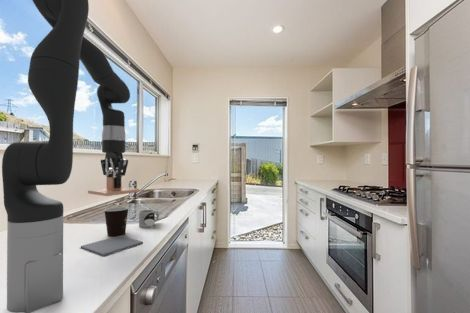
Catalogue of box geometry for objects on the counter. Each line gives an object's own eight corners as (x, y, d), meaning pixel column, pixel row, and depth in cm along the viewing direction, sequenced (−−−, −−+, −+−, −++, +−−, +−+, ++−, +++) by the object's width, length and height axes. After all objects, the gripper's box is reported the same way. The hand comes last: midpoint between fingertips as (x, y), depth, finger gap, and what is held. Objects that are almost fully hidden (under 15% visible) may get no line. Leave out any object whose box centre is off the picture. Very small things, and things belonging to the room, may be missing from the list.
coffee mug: (119, 238, 95) (119, 211, 95) (99, 236, 96) (99, 210, 97) (137, 229, 106) (137, 206, 106) (119, 228, 108) (118, 205, 108)
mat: (142, 243, 88) (142, 241, 88) (103, 256, 77) (103, 254, 77) (119, 237, 96) (119, 235, 96) (80, 247, 84) (80, 246, 84)
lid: (139, 191, 91) (139, 176, 91) (107, 196, 81) (107, 179, 81) (119, 189, 98) (119, 175, 98) (87, 193, 88) (87, 177, 88)
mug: (145, 228, 108) (145, 213, 108) (135, 226, 111) (135, 211, 111) (163, 223, 116) (163, 209, 116) (153, 221, 120) (153, 207, 120)
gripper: (92, 139, 90) (92, 187, 90) (115, 137, 82) (115, 190, 82) (112, 140, 96) (112, 185, 96) (135, 139, 89) (135, 187, 89)
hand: (114, 187), depth 89 cm, fingers closed on lid, 3 cm apart
